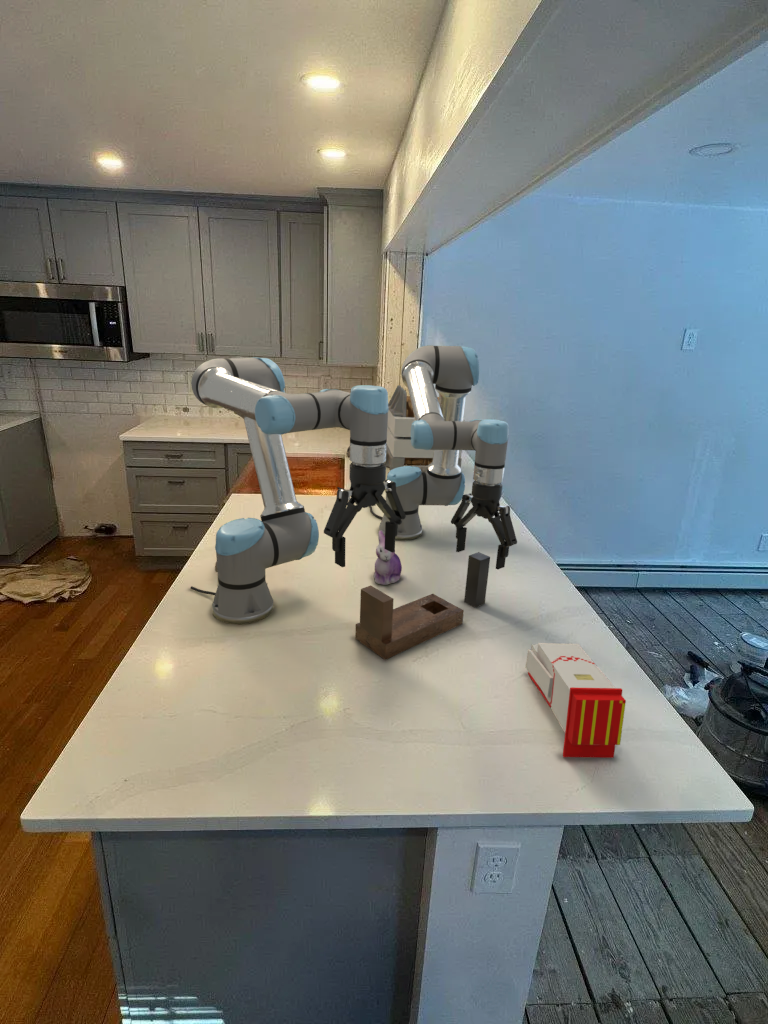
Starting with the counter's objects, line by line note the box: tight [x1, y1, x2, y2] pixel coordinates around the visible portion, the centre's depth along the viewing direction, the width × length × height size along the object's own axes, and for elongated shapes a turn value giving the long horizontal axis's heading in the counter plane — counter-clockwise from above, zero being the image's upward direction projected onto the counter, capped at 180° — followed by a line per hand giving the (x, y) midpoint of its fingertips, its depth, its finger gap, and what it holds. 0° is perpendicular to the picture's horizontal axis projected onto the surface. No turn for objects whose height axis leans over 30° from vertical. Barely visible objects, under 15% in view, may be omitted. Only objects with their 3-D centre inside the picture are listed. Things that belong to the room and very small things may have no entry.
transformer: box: [384, 384, 466, 471], centre depth 268 cm, size 34×33×41 cm
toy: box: [525, 642, 627, 759], centre depth 113 cm, size 12×13×30 cm
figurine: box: [373, 530, 403, 586], centre depth 164 cm, size 9×10×15 cm
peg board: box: [354, 585, 465, 661], centre depth 138 cm, size 11×26×14 cm, turn 131°
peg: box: [463, 551, 491, 609], centre depth 153 cm, size 4×4×14 cm
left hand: (365, 557), depth 124 cm, fingers open, 13 cm apart
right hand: (479, 559), depth 150 cm, fingers open, 13 cm apart
